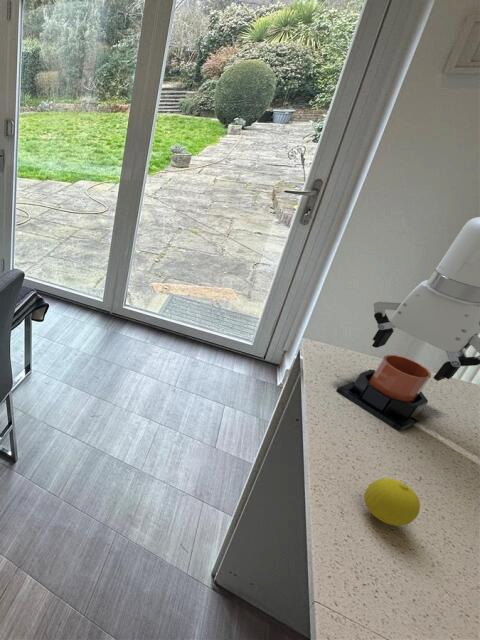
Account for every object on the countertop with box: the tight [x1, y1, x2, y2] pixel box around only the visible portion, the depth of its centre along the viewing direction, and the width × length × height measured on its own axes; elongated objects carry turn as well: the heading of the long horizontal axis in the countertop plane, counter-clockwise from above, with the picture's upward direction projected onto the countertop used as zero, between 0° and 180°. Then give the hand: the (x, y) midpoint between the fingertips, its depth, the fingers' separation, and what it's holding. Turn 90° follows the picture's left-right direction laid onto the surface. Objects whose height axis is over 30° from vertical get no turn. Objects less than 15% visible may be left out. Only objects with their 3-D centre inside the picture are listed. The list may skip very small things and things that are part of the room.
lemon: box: [363, 477, 421, 527], centre depth 62 cm, size 6×6×8 cm
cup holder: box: [335, 369, 429, 432], centre depth 83 cm, size 11×11×4 cm
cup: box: [369, 354, 432, 403], centre depth 82 cm, size 7×7×10 cm
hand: (407, 361), depth 80 cm, fingers open, 9 cm apart
